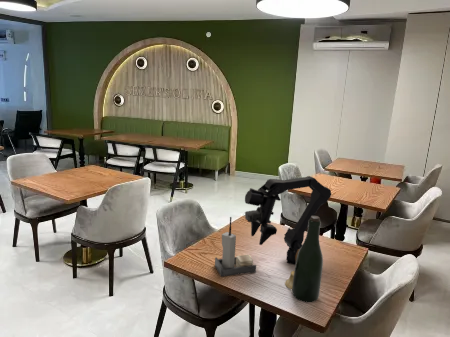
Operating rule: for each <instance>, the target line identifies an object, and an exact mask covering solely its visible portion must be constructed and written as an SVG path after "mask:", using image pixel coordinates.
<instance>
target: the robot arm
mask: <svg viewBox="0 0 450 337" xmlns="http://www.w3.org/2000/svg"><path fill="white" fill-rule="evenodd" d="M307 187H308V188H310V190H312V191H311V194H310V200H309V202H308V204H307V206H306V207H305V209H304V211H303V213H302V214H301V216H300V217H299V219H298V221H297V223H296V224H295V226H294V227H293V228H287V230H286V233H285V234H284V237H283V239H284V243H286V246H287V247H288V249H287V251H286V263H287V264H291V265H295V264H296V261H295V256H296V253H297V251H298V249H300V248H301V246H302V245H303V243H304V241H305V238H304V237H305V232H306V230H308V222H309V219H310V218H311V216H316V214H317V212H318V211H319V209H320V207H322V206H323V205H324V204H326V203H327V202H328V201H329V200H330V198H331V197H332V192H331V189H330V188H328V187H326V186H325V185H323V184H321V183H320V182H319V181H318V180H317V178H315V177H313V176H310V175H308V176H305V177H303V176H302V177H297V178H290V179H279V178H278V179H277V178H270V179H267V180H266V182H265V183H264V184H262V185H261V187H259V188H258V189H254V188H252V187H251V188H249V190H247V192H246V193H245V196H244V203H245V204H247V205H252V206H256V207H257V208H256V210H255V209H254V210H248V211H245V212H244V216H245V218H244V219H245V220H246V221H247V222H248V223H250V224H251V225H250V226H251V228H250V230H251V231H250V236H251V237H254V236H255V235H256V233H257V231H258V229H259V231H260V233H261V234H260V237H259V238H260V239H259V243H258V244H259V246H263V244H264V243H266V241H267V240H268V239H269V238H271V237H272V236H274V235H276V234H277V232H278V229H277V228H276V226H274V225H273V224H271V223H272V221H271V220H270V219H271V216H274V214H275V212H273V209H274V207H275V204H276V202H277V201H278V202H280V201H281V198H280V195H281V194H283V193H285V192H286V191H290V190H296V189H302V188H307Z"/></svg>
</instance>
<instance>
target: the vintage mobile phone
mask: <svg viewBox="0 0 450 337" xmlns="http://www.w3.org/2000/svg"><path fill="white" fill-rule="evenodd" d="M232 218H233V217H232V216H230V217H229V226H228V227H229V228H228V231H226V232H224V233H221V246H222V257H221V259H222V267H223V269H225V268H233V267H235V265H234V263H235V257H236V246H237V245H236V244H237V243H236V241H237V239H236V238H237V235H236V234H233V233H232Z"/></svg>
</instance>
